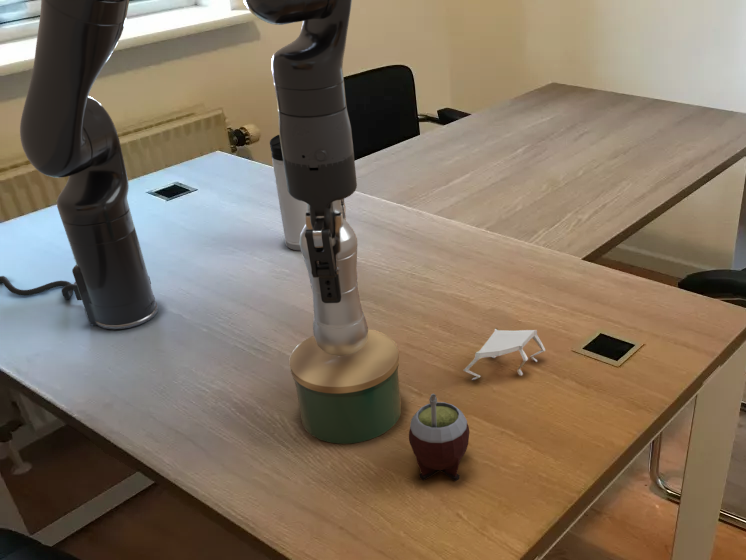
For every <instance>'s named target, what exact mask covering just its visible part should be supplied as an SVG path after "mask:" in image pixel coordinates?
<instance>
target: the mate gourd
mask: <svg viewBox="0 0 746 560" xmlns="http://www.w3.org/2000/svg"><path fill="white" fill-rule="evenodd" d="M428 401H429V403H427V404H424V405H423V406H421V407H420V408H419V409H418V410H417V411H416V413H414V414H413V416H412V417H411V420H410V425H409V431H408V441H409V445H410V447H411V449H412V452H413V455H414V457H415V459H416V464H417V466H418V468H419V471H420V473H419V474H418V477H419V479H420V480H421V481H424V480H427V479H428V478H430V477H432V476H434V475H435V474H438V473H439V472H442V473H443V474H444V475H446V476H447V477H449V478H450V479H451V480H453V481H454V482H457V481H458V480H460V477H461V475H459V474H458V470H459V467H460V462H461V460H462V459H463V457H464V456H465V454H466V452H467V449H468V447H469V440H470V427H469V424H468V420H467V418H466V416H465V414H464V413H463V411H462V410H461V409H459V408H458V407H457V406H455V405H454V404H452V403H449V402H448V403H447V402H445V401H438V397H437V394H435V393H431V394H430V397H429V400H428Z"/></svg>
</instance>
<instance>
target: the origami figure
mask: <svg viewBox="0 0 746 560" xmlns="http://www.w3.org/2000/svg"><path fill="white" fill-rule="evenodd" d="M531 339H533V341H534V342H535V343H536V344H537V345H538V347H539V349H540V350H539V351H537V352H535V353H533V354H532V355H530V356H529V357H528V355H527V354H526V352H525V350H524V347H525V346H526V345H527V344H528V343H529V342H530V341H531ZM517 351H518V352H519V353H520V356H521V358H522V362H521V364H520V365H519V366H518V368H517V370H516V372H517V374H518V376H523V375H524V373H523V371H522V367H523V366H524V365H525V364H526V362H527V361H528V360H529V358H530V359H531V360H532V361H534V363H537V362H538V359H537V358H535V356H537V355H539V354H542V353H544V352H546V348H545V345H544V344H543V342H542V340H541V339H540V337H539V335H538V330H537V329H521V330H519V329H517V330H510V329H509V330H503V329H500V330H499V329H497V328H494V331H493V332H492V334H491V335H490V336H489V338H488V339H487V340H486V342H485V343H484V344H483V345H482V347H481V348H480V350H478V351H476V352H475V354H474V358H473V359H472V361H471V362H470V363H469V364H468V365H467V366H466V367H464V369H463V370H462V371H463V372H465V373H467V374H469V375H472V376H473V378H472V379H471V381H476V380H478V379H479V378H481V377H482V375H480V374H478V373H476V372H474V371H472V370H470V369H471V368H472V367H473V366H474V365H475V364H476V363H478V362H479V360H481V359H484V358H493V359H496V358H497V357H501V356H504V355H507V354H511V353H514V352H517Z"/></svg>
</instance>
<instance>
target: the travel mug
mask: <svg viewBox="0 0 746 560" xmlns="http://www.w3.org/2000/svg"><path fill="white" fill-rule="evenodd" d="M269 146H270V148H269V149H270V153H271V160H272V161H271V162H272V168H273V175H274V179H275V186H276V192H277V198H278V205H279V210H280V211H279V212H280V217H281V224H282V229H283V236H284V242H285V246H286V247H287V248H288V249H290V250H293V251H301V248H300V243H299V241H300V235H301V232H302V230H303V228H304V226H305V225H306V212H307V208H308V207H307V203H306V202H303V201H299V200H297V199H295V198H293V197H292V196H291V195H290V194H289V192H288V188H287V182H286V175H285V169H284V162H283V156H282V149H281V143H280V136H279V134H277V135H274V136H273V137H271V139H270V140H269Z"/></svg>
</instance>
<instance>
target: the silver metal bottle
mask: <svg viewBox="0 0 746 560" xmlns="http://www.w3.org/2000/svg"><path fill="white" fill-rule="evenodd" d="M332 204H333V212H343V209H342V206H341V200H336V201H333V202H332ZM307 207H308V208H307V212H310V205H309V204H307ZM306 229H308V227H307V226H306V225H305V226H304V228H303V230H302V232H301V235H300V241H299V243H300V248H301V250H300V251H301V256H302V258H303V260H304V264H305V267H306V269H307V273H308V274H307V275H308V279H309V282H310V288H311V291H312V303H313V304H312V305H313V306H312V307H313V321H312V334H313V336H314V337H315V340H316V343H317V345H318V346H319V347H320V348H321V349H322V350H323V351H324V352H325V353H327V354H330V355H335V356H344V355H350V354H353V353H356V352H358V351H359V350H361V349H362V348H363V346H364V345H365V343H366V342H367V337H368V329H369V326H368V322H367V319H366V315H365V313H364V311H363V307H362V302H361V298H360V297H361V296H360V292H359V287H358V285H359V284H358V283H359V282H358V270H357V269H358V268H357V264H358V237H357V234H356V233H355V230H354V228H353V227H352V226H351V224H350V223H349V222H348V221H347V219H346V220H345V219H344V218H343V227H342V228H341V247H342V250H341V252H340V253H339V254H338V267H339V280H340V288H341V301H340V302H339V303H324V302H322V299H321V292H320V285H319V278H313V275H312V272H311V271H312V269H311V263H310V258H309V252H308V247H307V241H306V238H305V233H306ZM335 243H336V239H335V237H334V238H333V239H332V246H334V245H335ZM321 264H329V262H328V261H321Z"/></svg>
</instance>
